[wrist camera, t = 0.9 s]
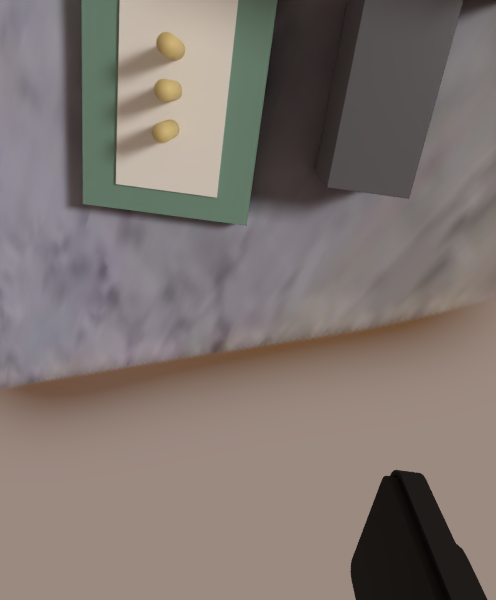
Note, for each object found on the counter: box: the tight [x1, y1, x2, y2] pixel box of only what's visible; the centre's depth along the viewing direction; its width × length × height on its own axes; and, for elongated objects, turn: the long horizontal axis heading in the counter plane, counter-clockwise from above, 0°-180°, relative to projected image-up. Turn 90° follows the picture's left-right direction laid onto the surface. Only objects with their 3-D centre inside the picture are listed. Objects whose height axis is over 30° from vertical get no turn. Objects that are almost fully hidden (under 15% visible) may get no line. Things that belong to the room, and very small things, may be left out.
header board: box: [81, 0, 277, 226], centre depth 25 cm, size 14×10×5 cm
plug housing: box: [315, 0, 463, 199], centre depth 25 cm, size 9×4×5 cm, turn 172°
